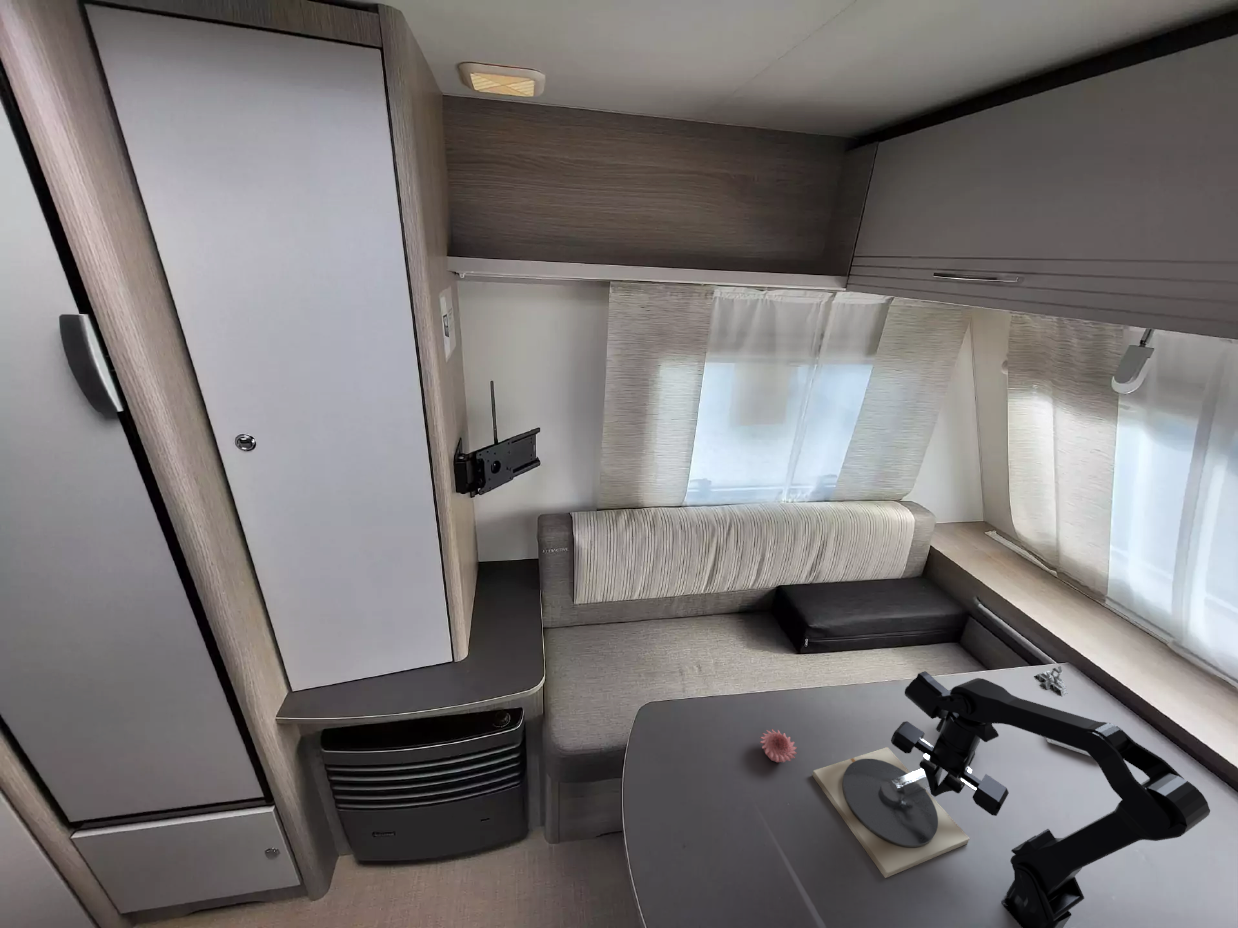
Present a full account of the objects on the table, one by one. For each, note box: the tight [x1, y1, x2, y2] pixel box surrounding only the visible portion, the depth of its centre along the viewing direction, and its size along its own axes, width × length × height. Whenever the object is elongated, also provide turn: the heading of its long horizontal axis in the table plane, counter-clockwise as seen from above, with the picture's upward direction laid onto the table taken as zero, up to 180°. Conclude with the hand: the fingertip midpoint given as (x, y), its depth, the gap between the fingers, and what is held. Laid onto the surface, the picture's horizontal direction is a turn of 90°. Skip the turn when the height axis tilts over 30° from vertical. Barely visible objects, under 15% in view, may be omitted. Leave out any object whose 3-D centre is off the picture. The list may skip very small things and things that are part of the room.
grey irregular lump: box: [1035, 665, 1068, 698], centre depth 133 cm, size 9×9×8 cm
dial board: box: [811, 746, 971, 879], centre depth 101 cm, size 20×20×2 cm
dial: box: [842, 759, 938, 848], centre depth 100 cm, size 19×17×5 cm
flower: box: [759, 728, 798, 763], centre depth 110 cm, size 8×8×6 cm
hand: (933, 794), depth 101 cm, fingers closed
